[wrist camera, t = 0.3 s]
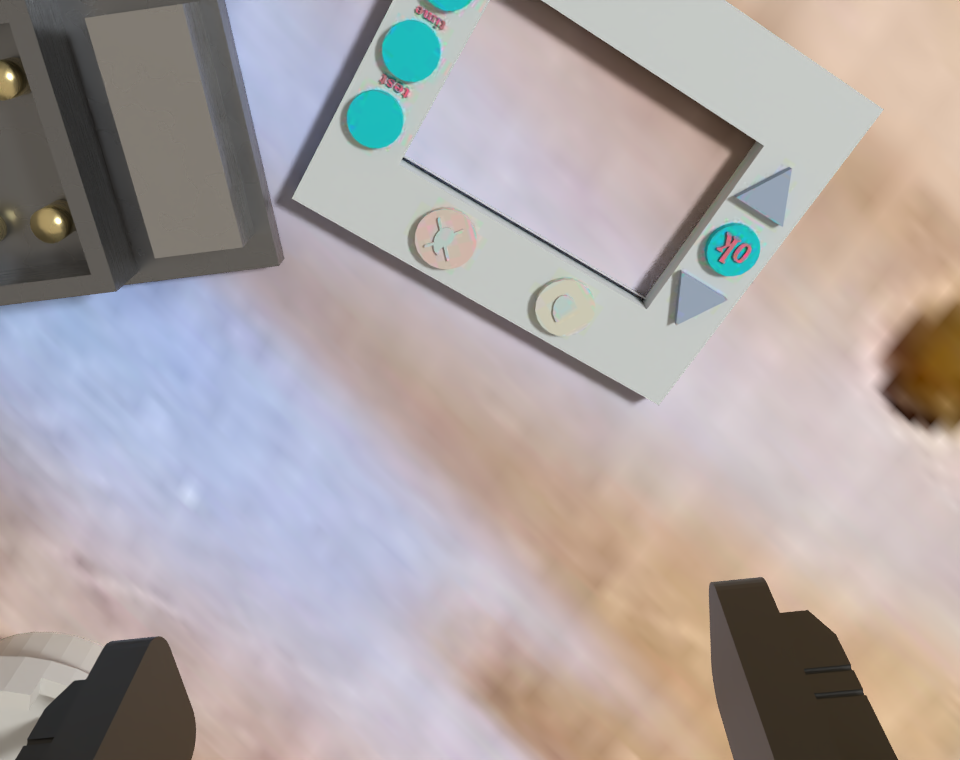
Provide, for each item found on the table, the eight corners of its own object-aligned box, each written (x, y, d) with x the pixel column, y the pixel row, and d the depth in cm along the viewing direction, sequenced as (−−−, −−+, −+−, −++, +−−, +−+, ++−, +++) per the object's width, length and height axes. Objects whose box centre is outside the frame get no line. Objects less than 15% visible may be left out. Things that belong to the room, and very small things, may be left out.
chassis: (-186, 14, 35) (-253, 19, 32) (214, -46, 34) (185, -46, 31) (-68, 302, 40) (-116, 331, 37) (284, 258, 39) (265, 285, 36)
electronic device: (888, 111, 35) (660, 409, 40) (866, 102, 37) (652, 387, 42) (478, -171, 31) (289, 201, 37) (479, -163, 33) (300, 188, 39)
